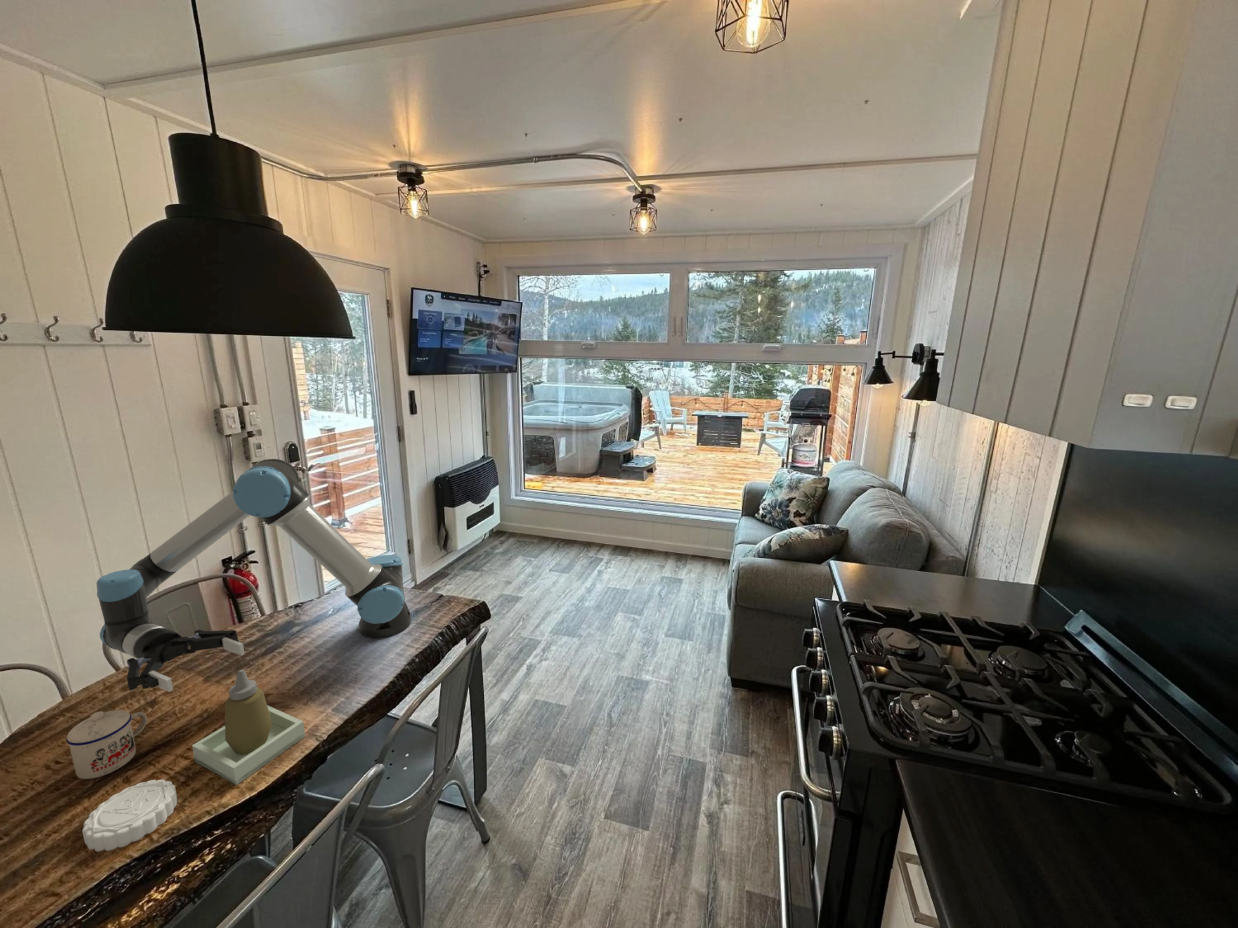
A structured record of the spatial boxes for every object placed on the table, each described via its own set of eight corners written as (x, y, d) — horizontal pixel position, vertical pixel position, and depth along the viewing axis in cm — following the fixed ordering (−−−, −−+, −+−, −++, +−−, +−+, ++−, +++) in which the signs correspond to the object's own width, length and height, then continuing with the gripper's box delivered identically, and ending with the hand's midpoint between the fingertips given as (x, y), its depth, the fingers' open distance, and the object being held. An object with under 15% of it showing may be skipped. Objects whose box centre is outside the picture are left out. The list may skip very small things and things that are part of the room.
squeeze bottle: (218, 752, 102) (206, 677, 98) (257, 726, 109) (247, 656, 106) (244, 764, 99) (232, 687, 96) (282, 736, 107) (273, 664, 103)
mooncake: (195, 793, 94) (192, 778, 93) (130, 855, 82) (127, 837, 81) (136, 789, 94) (133, 774, 93) (64, 849, 82) (60, 832, 82)
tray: (264, 717, 113) (262, 703, 112) (305, 736, 108) (303, 721, 107) (194, 761, 101) (191, 745, 100) (236, 784, 95) (233, 767, 95)
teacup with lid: (94, 785, 94) (82, 734, 92) (62, 774, 96) (51, 724, 94) (164, 741, 106) (156, 694, 103) (135, 732, 108) (126, 686, 106)
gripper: (216, 631, 125) (269, 650, 117) (83, 690, 102) (138, 719, 94) (211, 605, 123) (265, 622, 115) (75, 659, 100) (130, 685, 93)
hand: (208, 666), depth 105 cm, fingers open, 13 cm apart
